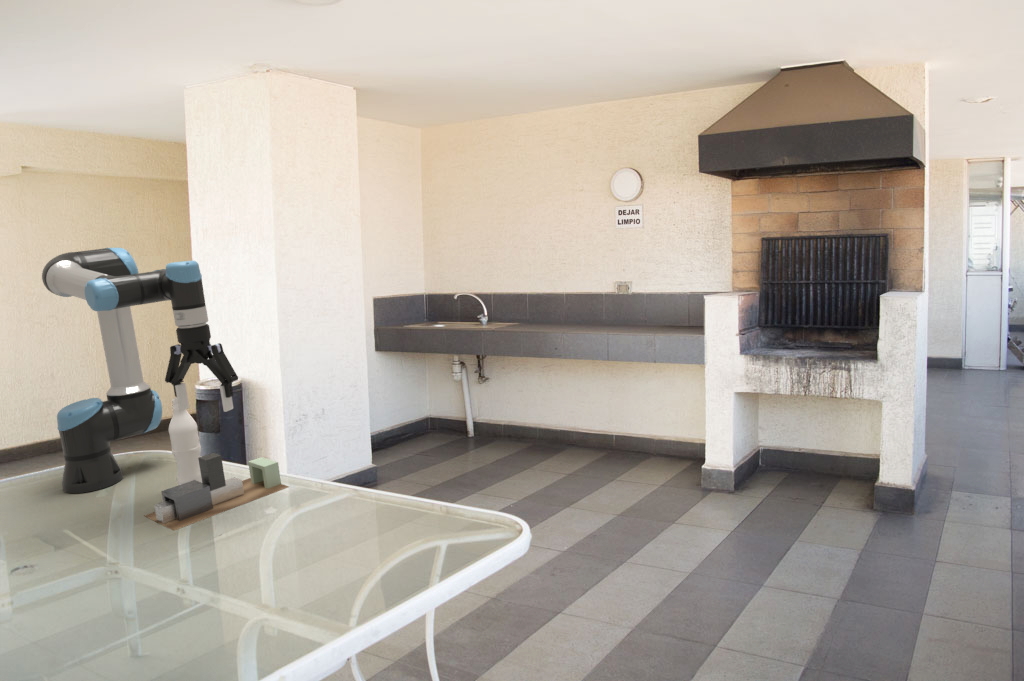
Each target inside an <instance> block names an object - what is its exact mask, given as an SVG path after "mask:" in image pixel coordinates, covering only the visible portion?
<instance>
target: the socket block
mask: <svg viewBox="0 0 1024 681" xmlns="http://www.w3.org/2000/svg"><path fill="white" fill-rule="evenodd" d="M247 463H248V470H249V475H250V477H249V478H251V483H253V484H256V483H258V482H261V481H264V486H265V488H267V489H268V488H271V487H274V486H277V485H279V484H282V482H281V481H282V480H281V475H280V474H281V473H280V468H279V462H278V461H277V460H272V459H270V458H266V457H264V456H261V457H258V458H254V459H251V460H249V461H247Z"/></svg>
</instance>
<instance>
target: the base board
mask: <svg viewBox="0 0 1024 681" xmlns="http://www.w3.org/2000/svg"><path fill="white" fill-rule="evenodd" d="M242 483H243V490H244V494H243V495H240V496H237V497H235V498H232V499H229V500H226V501H224V502H221V503H218V504H216V505H213V509H211V510H209V511H206V512H203V513H200V514H198V515H195V516H192V517H190V518H187V519H184V520H182V521H179V520H178V519H175V520H172V521H169V522H167V523H162V522H160V521H158V520H157V518H156V513H155V511H153V512H150V513H147V514H145V515H143V517H145V518H146V519H148V520H149V519H150V520H151V521H154V522H155V523H157V524H159V525H161V526H163V527H166V528H168V529H170V530H172V531H177V530H179V529H182V528H185V527H187V526H190V525H193V524H196V523H198V522H201V521H204V520H205V519H209V518H212V517H215V516H217V515H219V514H222V513H225V512H227V511H230V510H232V509H233V510H234V509H235V508H237V507H240V506H243V505H246V504H248V503H251V502H253V501H257V500H258V499H261V498H264V497H267V496H269V495H272V494H275V493H277V492H280V491H282V490H285V489H287V488H290V486H288V485H285V484H283V483H281V484H279V485H277V486H274V487H271V488H268V489H267V488H265V486H264V481H261V482H258V483H256V484H253V483H251V477H249V478H245V479H242Z"/></svg>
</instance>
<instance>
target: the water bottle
mask: <svg viewBox="0 0 1024 681" xmlns="http://www.w3.org/2000/svg"><path fill="white" fill-rule="evenodd" d="M171 402H172V407H171V409H172V410H173V413H172V417H171V420H170V423H169V425H168V433H169V439H170V440H169V441H170V444H171V454H172V456H173V457H174V459H175V462H176V467H177V476H176V482H177V486H178V485H181V484H184V483H187V482H190V481H193V480H196V481H199V482H201V483H202V478H201V472H200V466H199V460H198V458H199V457H201V453H202V452H201V451H202V447H201V445H202V444H201V442H200V438H199V432H198V427H199V426H198V424H197V422H196V421H195V420H196V419H194V418H193V416H191V414H190V413H189V412H188V409H186V410H183V411H179V406H178V400H177V397H175V398H172V399H171Z"/></svg>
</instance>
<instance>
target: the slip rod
mask: <svg viewBox="0 0 1024 681" xmlns="http://www.w3.org/2000/svg"><path fill="white" fill-rule="evenodd" d="M198 460H199V466H200V472H201V478H202V483H204V484H206V485H209V486H210V492H211V498H212V504H213V505H216V504H218V503H221V502H224V501H226V500H229V499H232V498H235V497H237V496H240V495H243V494H244V490H243V483H242V481H243V479H241V478H238V477H235V476H233V477H231V478H229V479H226V478H225V472H224V466H223V459H222V455H221V454H218V453H214V452H211V453H209V454H204V455H202V456H200V457H199V458H198ZM153 506H154V512H155V513H156V518H157V520H158V521H160V522H162V523H167V522H169V521H172V520H175V519H177V514H176V508H175V502H174V500H172V499H170V500H168V501H165V502H163V501H162V502H159V503H157V504H154V505H153Z"/></svg>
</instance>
